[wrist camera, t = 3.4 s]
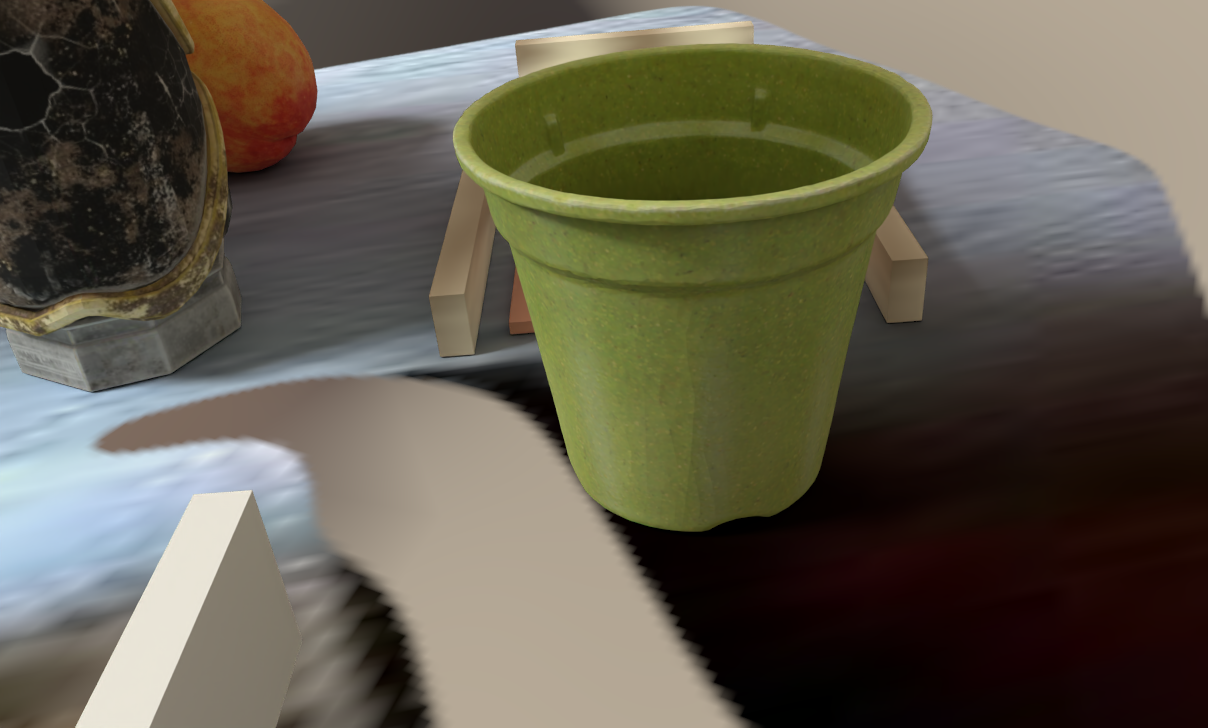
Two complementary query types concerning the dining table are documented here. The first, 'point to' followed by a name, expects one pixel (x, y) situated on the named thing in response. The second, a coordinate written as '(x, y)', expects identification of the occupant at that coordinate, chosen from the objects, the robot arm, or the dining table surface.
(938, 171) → the dining table surface
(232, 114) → the fruit
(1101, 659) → the dining table surface
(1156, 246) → the dining table surface
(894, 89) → the plant pot
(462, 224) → the trap box
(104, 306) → the lantern
